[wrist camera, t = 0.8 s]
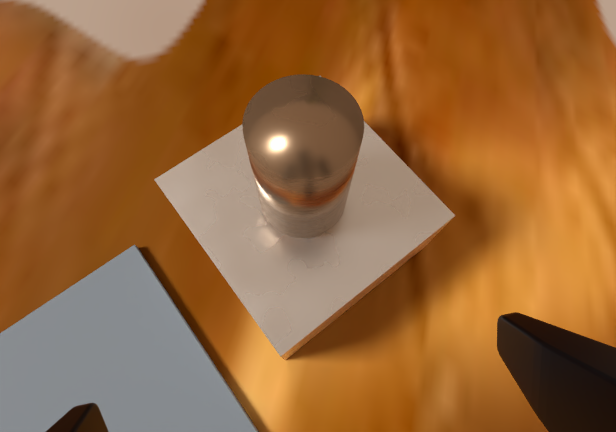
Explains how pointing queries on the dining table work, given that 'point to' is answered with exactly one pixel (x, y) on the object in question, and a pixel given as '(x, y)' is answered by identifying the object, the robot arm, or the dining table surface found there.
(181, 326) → the mat
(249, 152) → the cover
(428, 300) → the dining table surface
